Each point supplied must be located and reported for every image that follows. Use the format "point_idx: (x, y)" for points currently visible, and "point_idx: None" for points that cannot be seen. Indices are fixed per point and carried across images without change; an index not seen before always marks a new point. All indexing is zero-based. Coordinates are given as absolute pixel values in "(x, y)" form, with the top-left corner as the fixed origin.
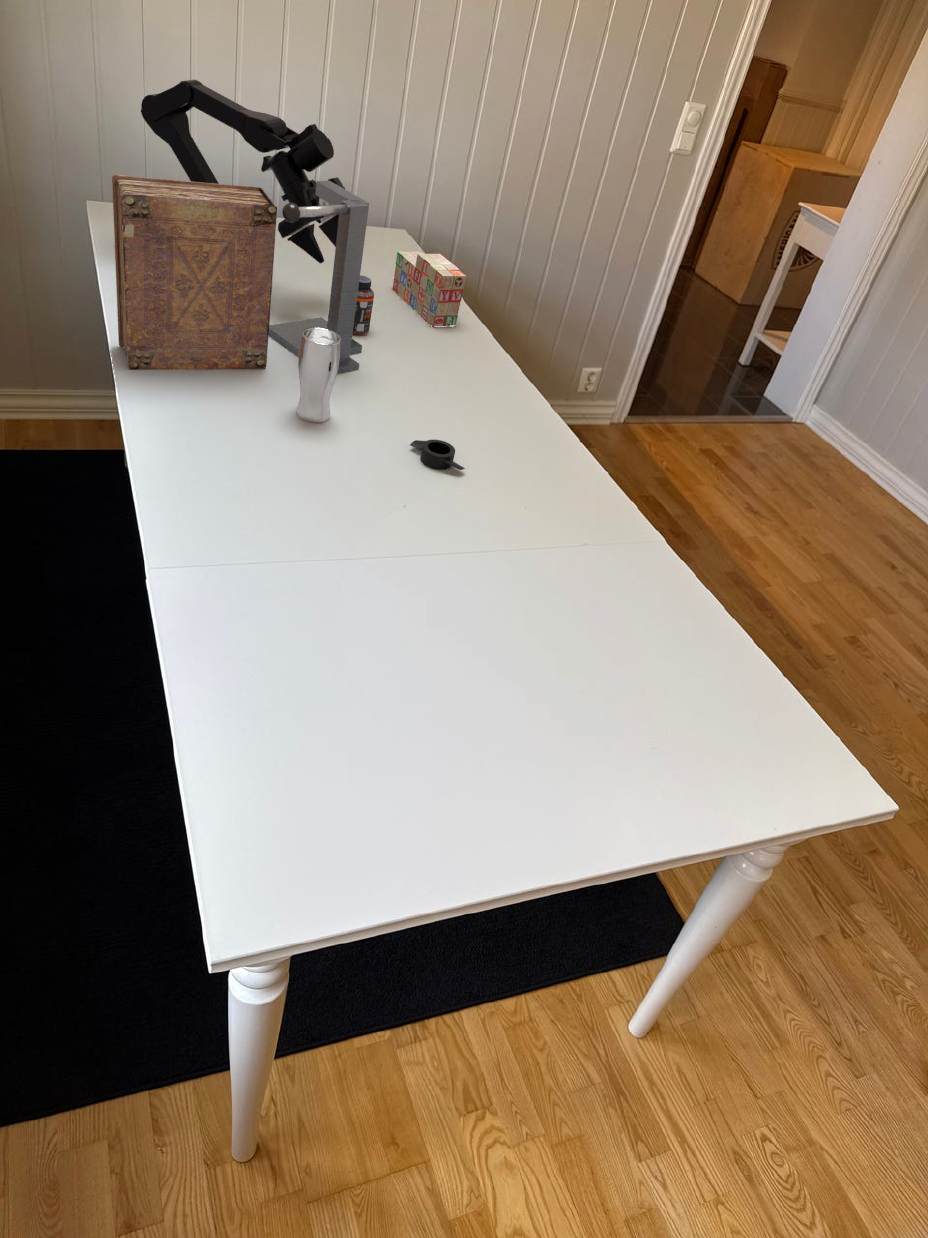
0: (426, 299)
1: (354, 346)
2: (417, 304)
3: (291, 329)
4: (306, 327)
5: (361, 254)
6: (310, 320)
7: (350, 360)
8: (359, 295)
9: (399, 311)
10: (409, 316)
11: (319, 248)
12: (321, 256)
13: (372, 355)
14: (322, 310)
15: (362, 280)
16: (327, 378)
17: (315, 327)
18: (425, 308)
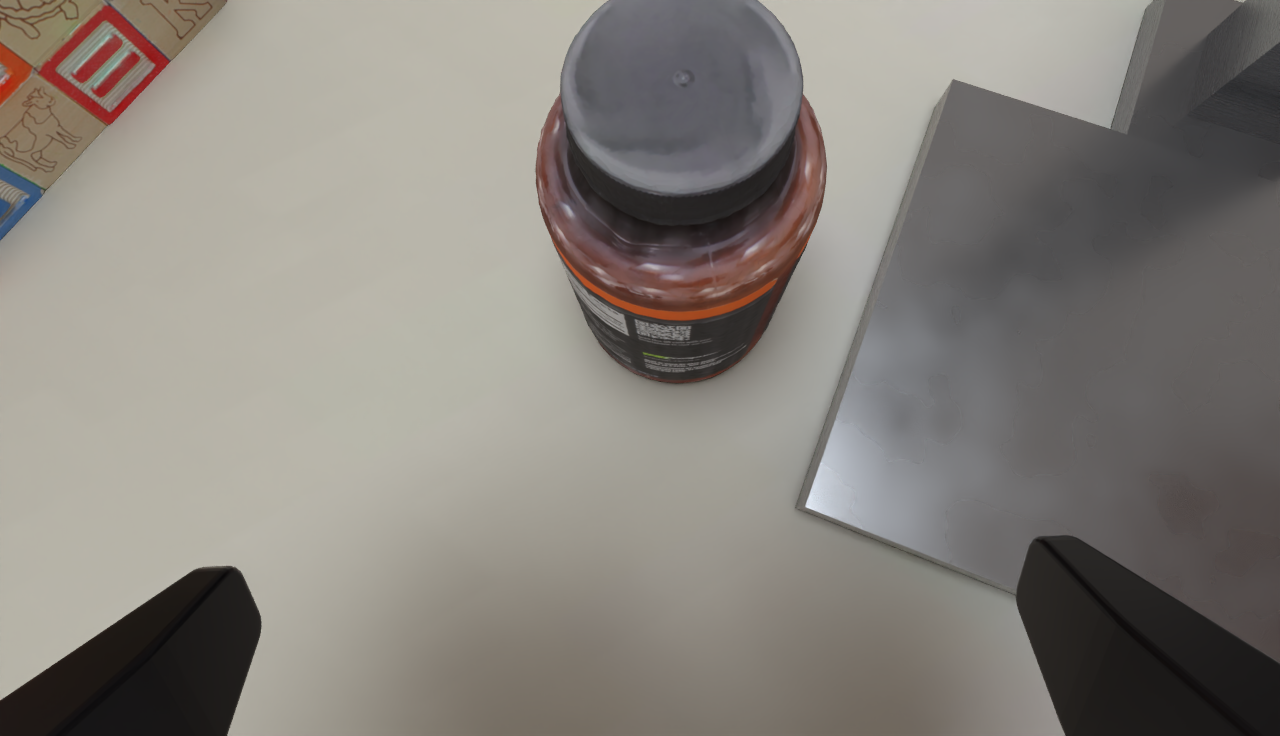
0: (19, 7)
1: (1010, 105)
2: (13, 150)
3: (1196, 538)
4: (1062, 481)
5: None
6: (930, 531)
7: (1183, 37)
8: (806, 100)
9: (141, 252)
10: (170, 170)
11: (1245, 709)
12: (1147, 586)
13: (909, 46)
14: (571, 634)
15: (738, 43)
16: None
17: (1000, 436)
18: (78, 50)
